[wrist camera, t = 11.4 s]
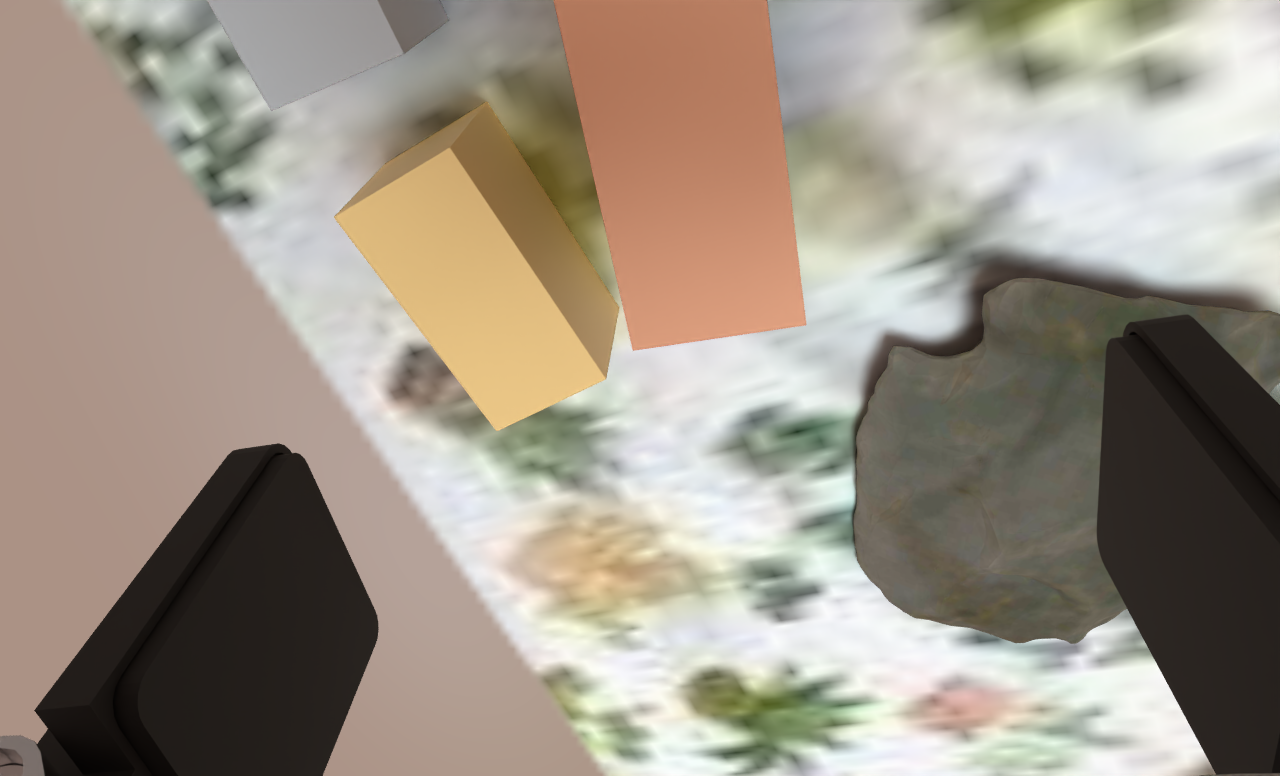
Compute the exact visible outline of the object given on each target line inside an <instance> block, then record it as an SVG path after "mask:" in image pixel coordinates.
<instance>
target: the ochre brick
mask: <svg viewBox="0 0 1280 776" xmlns="http://www.w3.org/2000/svg"><path fill="white" fill-rule="evenodd" d="M334 218H335V219H336V221H337V222H338V223H339V225H340V226H341V227H342V229H343V230H344V231H345V233H346V234H347V235H348V237H349V238H350V239H351V241H352V242H353V243H354V244H355V246H356V247H357V248H358V250H359V251H360V252H361V254H362V255H363V256H364V258H365V259H366V260H367V262H368V263H369V264H370V265H371V267H372V268H373V269H374V271H375V272H376V273H377V275H378V276H379V277H380V279H381V280H382V281H383V283H384V284H385V285H386V286H387V288H388V289H389V290H390V292H391V293H392V294H393V296H394V297H395V298H396V300H397V301H398V302H399V304H400V305H401V306H402V307H403V309H404V310H405V311H406V313H407V314H408V315H409V317H410V318H411V319H412V321H413V322H414V323H415V325H416V326H417V327H418V328H419V330H420V331H421V332H422V334H423V335H424V336H425V338H426V339H427V340H428V342H429V343H430V344H431V346H432V347H433V348H434V350H435V351H436V352H437V353H438V355H439V356H440V357H441V359H442V360H443V361H444V363H445V364H446V365H447V367H448V368H449V369H450V371H451V372H452V373H453V374H454V376H455V377H456V378H457V380H458V381H459V382H460V384H461V385H462V386H463V388H464V389H465V390H466V392H467V393H468V394H469V395H470V397H471V398H472V399H473V401H474V402H475V403H476V405H477V406H478V407H479V409H480V410H481V411H482V413H483V414H484V415H485V416H486V418H487V419H488V420H489V422H490V423H491V424H492V426H493V427H494V428H495V430H496V431H498V430H501V429H503V428H505V427H507V426H509V425H511V424H513V423H515V422H517V421H519V420H521V419H524V418H526V417H528V416H530V415H532V414H534V413H536V412H538V411H540V410H542V409H545V408H547V407H549V406H551V405H553V404H555V403H557V402H559V401H561V400H563V399H565V398H568V397H570V396H572V395H574V394H576V393H578V392H580V391H582V390H584V389H586V388H589V387H591V386H593V385H595V384H597V383H599V382H601V381H603V380H605V379H606V377H607V372H608V366H609V361H610V355H611V350H612V344H613V339H614V334H615V328H616V323H617V317H618V312H619V306H618V305H617V303H616V302H615V300H614V299H613V297H612V296H611V294H610V292H609V291H608V289H607V288H606V286H605V285H604V283H603V282H602V280H601V278H600V277H599V275H598V274H597V272H596V271H595V269H594V268H593V266H592V264H591V263H590V261H589V260H588V258H587V257H586V255H585V253H584V252H583V250H582V249H581V247H580V246H579V244H578V243H577V241H576V239H575V238H574V236H573V235H572V233H571V232H570V230H569V229H568V227H567V225H566V224H565V222H564V221H563V219H562V218H561V216H560V215H559V213H558V211H557V210H556V208H555V207H554V205H553V204H552V202H551V200H550V199H549V197H548V196H547V194H546V193H545V191H544V190H543V188H542V186H541V185H540V183H539V182H538V180H537V179H536V177H535V176H534V174H533V172H532V171H531V169H530V168H529V166H528V165H527V163H526V162H525V160H524V158H523V157H522V155H521V154H520V152H519V151H518V149H517V147H516V146H515V144H514V143H513V141H512V140H511V138H510V137H509V135H508V133H507V132H506V130H505V129H504V127H503V126H502V124H501V123H500V121H499V119H498V118H497V116H496V115H495V113H494V112H493V110H492V109H491V107H490V105H489V104H488V102H485V103H484V104H482V105H480V106H479V107H477V108H476V109H474V110H472V111H471V112H469V113H467V114H466V115H464V116H462V117H461V118H459V119H458V120H456V121H454V122H453V123H451V124H449V125H448V126H446V127H444V128H443V129H441V130H439V131H438V132H436V133H435V134H433V135H431V136H430V137H428V138H426V139H425V140H423V141H421V142H420V143H418V144H417V145H415V146H413V147H412V148H410V149H408V150H407V151H405V152H403V153H402V154H400V155H398V156H397V157H395V158H394V159H392V160H390V161H389V162H387V163H385V164H384V165H383V166H382V168H381V169H380V170H379V171H378V172H377V173H376V174H375V175H374V176H373V177H372V178H371V179H370V180H369V181H368V182H367V183H366V184H365V185H364V186H363V187H362V188H361V189H360V190H359V191H358V192H357V193H356V195H355V196H354V197H353V198H352V199H351V200H350V201H349V202H348V203H347V204H346V205H345V206H344V207H343V208H342V209H341V210H340V211H339V212H338V213H337V214H336V215H335V216H334Z"/></svg>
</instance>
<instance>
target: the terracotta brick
mask: <svg viewBox="0 0 1280 776" xmlns="http://www.w3.org/2000/svg"><path fill="white" fill-rule="evenodd" d="M554 5H555V9H556V14H557V18H558V22H559V27H560V31H561V36H562V40H563V44H564V49H565V53H566V58H567V62H568V67H569V71H570V75H571V80H572V84H573V89H574V93H575V97H576V102H577V106H578V111H579V115H580V119H581V124H582V128H583V133H584V137H585V141H586V146H587V150H588V155H589V159H590V163H591V168H592V172H593V177H594V181H595V186H596V190H597V194H598V199H599V203H600V208H601V212H602V216H603V221H604V225H605V230H606V234H607V238H608V243H609V247H610V252H611V256H612V260H613V265H614V269H615V274H616V278H617V282H618V287H619V291H620V296H621V300H622V305H623V309H624V313H625V318H626V322H627V327H628V331H629V335H630V340H631V344H632V349H633V351H634V350H640V349H647V348H654V347H661V346H668V345H674V344H681V343H688V342H695V341H702V340H708V339H715V338H722V337H729V336H736V335H742V334H749V333H756V332H763V331H770V330H776V329H783V328H790V327H797V326H804V325H806V318H805V310H804V301H803V293H802V285H801V277H800V268H799V260H798V252H797V244H796V235H795V227H794V219H793V211H792V203H791V194H790V186H789V178H788V170H787V161H786V153H785V145H784V137H783V128H782V120H781V112H780V104H779V95H778V87H777V79H776V71H775V62H774V54H773V46H772V38H771V29H770V21H769V13H768V5H767V0H554Z"/></svg>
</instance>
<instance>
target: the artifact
mask: <svg viewBox="0 0 1280 776" xmlns="http://www.w3.org/2000/svg"><path fill="white" fill-rule="evenodd" d="M1183 314H1189V315H1190V316H1191V317H1193V318H1194V319H1195V320H1196V321H1197V322H1198V323H1199V324H1200V325H1201V326H1202V327H1203V328H1204V329H1205V330H1206V331H1207V332H1208V333H1209V334H1210V335H1211V336H1212V337H1213V338H1214V339H1215V340H1216V341H1217V342H1218V343H1219V344H1220V345H1221V346H1222V347H1223V348H1224V349H1225V350H1226V351H1227V352H1228V353H1229V354H1230V355H1231V356H1232V357H1233V358H1234V359H1235V360H1236V361H1237V362H1238V363H1239V364H1240V365H1241V366H1242V367H1243V368H1244V369H1245V370H1246V371H1247V372H1248V373H1249V374H1250V375H1251V376H1252V377H1253V378H1254V379H1255V380H1256V381H1257V382H1258V383H1259V385H1260V386H1261V387H1262V388H1263V389H1264V390H1265V391H1266V392H1267V393H1268V394H1269V393H1270V392H1271V391H1272V390H1273V388H1274V387H1275V386H1276V385H1278V384H1279V383H1280V314H1278V313H1275V312H1271V311H1253V312H1245V311H1241V310H1236V309H1232V308H1223V307H1212V306H1200V305H1189V304H1184V303H1180V302H1176V301H1172V300H1167V299H1163V298H1158V297H1153V296H1145V297H1141V298H1137V299H1136V298H1125V297H1121V296H1117V295H1113V294H1109V293H1105V292H1101V291H1097V290H1094V289H1090V288H1086V287H1082V286H1077V285H1072V284H1066V283H1061V282H1056V281H1051V280H1046V279H1040V278H1017V279H1012V280H1009V281H1007V282H1004V283H1003V284H1001V285H999V286H997V287H995V288H994V289H992V290H990V291H988V292H987V293H986V294H985V295H984V296H983V307H982V319H983V324H984V333H983V339H982V341H981V343H980V344H978V345H977V346H976V347H975V348H974V349H973V350H971V351H967V352H964V353H960V354H957V355H953V356H945V357H943V356H933V355H929V354H927V353H924V352H922V351H919V350H917V349H914V348H912V347H905V346H893V348H892V349H891V351H890V353H889V356H888V366H887V368H886V369H885V371H884V372H883V373H882V375H881V377H880V378H879V380H878V381H877V383H876V386H875V389H874V394H873V395H872V396H871V397H870V400H869V401H868V410H867V413H866V415H865V416H864V418H863V420H862V422H861V425H860V427H859V430H858V433H857V437H856V445H857V451H858V452H857V458H856V466H857V483H856V490H857V506H856V510H855V513H854V517H853V522H854V534H855V547H856V550H857V561H858V563H859V565H860V567H861V568H862V570H863V571H864V573H865V574H866V575H867V577H868V578H869V579H870V581H871V582H873V583H874V584H875V585H876V586H877V587H878V588H880V590H881V591H882V593H883V594H884V596H885V597H886V598H887V599H888V601H889V602H891V603H892V604H893V605H895V606H896V607H898V608H899V609H901V610H902V611H903V612H905V613H907V614H909V615H910V616H912V617H914V618H919V619H926V620H931V621H935V622H939V623H942V624H946V625H950V626H958V627H968V628H973V629H976V630H979V631H982V632H986V633H989V634H992V635H994V636H997V637H999V638H1002V639H1005V640H1008V641H1011V642H1014V643H1025V642H1028V641H1031V640H1035V639H1048V638H1057V639H1061V640H1065V641H1068V642H1069V643H1071V644H1075V643H1078V642H1079V641H1081V640H1082V639H1083V638H1084V637H1085V636H1086V634H1087V633H1088V632H1089V631H1090V630H1092V629H1093V628H1095V627H1098V626H1100V625H1102V624H1105V623H1107V622H1108V621H1110V620H1111V619H1113V618H1115V617H1116V616H1117V615H1118V614H1120V613H1121V612H1122V611H1123V610H1125V609H1127V607H1126V605H1125V603H1124V602H1123V600H1122V598H1121V596H1120V594H1119V592H1118V590H1117V588H1116V587H1115V585H1114V583H1113V581H1112V579H1111V577H1110V575H1109V574H1108V572H1107V570H1106V568H1105V566H1104V564H1103V562H1102V559H1101V556H1100V553H1099V548H1098V543H1097V512H1098V493H1099V474H1100V455H1101V436H1102V417H1103V398H1104V379H1105V360H1106V348H1107V344H1108V341H1109V340H1110V339H1111V338H1116V337H1123V332H1124V330H1125V327H1126V325H1127V324H1128V323H1129V322H1134V321H1141V320H1148V319H1155V318H1162V317H1169V316H1176V315H1183Z"/></svg>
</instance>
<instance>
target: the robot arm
mask: <svg viewBox="0 0 1280 776" xmlns="http://www.w3.org/2000/svg"><path fill="white" fill-rule="evenodd" d="M1097 543H1098V548H1099V553H1100V556H1101V559H1102V562H1103V564H1104V566H1105V568H1106V570H1107V572H1108V574H1109V575H1110V577H1111V579H1112V581H1113V583H1114V585H1115V587H1116V588H1117V590H1118V592H1119V594H1120V596H1121V598H1122V600H1123V602H1124V603H1125V605H1126V607H1127V609H1128V611H1129V613H1130V615H1131V616H1132V618H1133V620H1134V622H1135V624H1136V626H1137V628H1138V630H1139V631H1140V633H1141V635H1142V637H1143V639H1144V641H1145V643H1146V644H1147V646H1148V648H1149V650H1150V652H1151V654H1152V656H1153V657H1154V659H1155V661H1156V663H1157V665H1158V667H1159V669H1160V671H1161V672H1162V674H1163V676H1164V678H1165V680H1166V682H1167V684H1168V685H1169V687H1170V689H1171V691H1172V693H1173V695H1174V697H1175V698H1176V700H1177V702H1178V704H1179V706H1180V708H1181V710H1182V712H1183V713H1184V715H1185V717H1186V719H1187V721H1188V723H1189V725H1190V726H1191V728H1192V730H1193V732H1194V734H1195V736H1196V738H1197V739H1198V741H1199V743H1200V745H1201V747H1202V749H1203V751H1204V753H1205V754H1206V756H1207V758H1208V760H1209V762H1210V764H1211V766H1212V767H1213V769H1214V771H1215V773H1216V775H1201V776H1280V405H1279V404H1278V403H1277V402H1276V401H1275V400H1274V399H1273V398H1272V397H1271V396H1270V395H1269V394H1268V393H1267V392H1266V391H1265V390H1264V389H1263V388H1262V387H1261V386H1260V385H1259V383H1258V382H1257V381H1256V380H1255V379H1254V378H1253V377H1252V376H1251V375H1250V374H1249V373H1248V372H1247V371H1246V370H1245V369H1244V368H1243V367H1242V366H1241V365H1240V364H1239V363H1238V362H1237V361H1236V360H1235V359H1234V358H1233V357H1232V356H1231V355H1230V354H1229V353H1228V352H1227V351H1226V350H1225V349H1224V348H1223V347H1222V346H1221V345H1220V344H1219V343H1218V342H1217V341H1216V340H1215V339H1214V338H1213V337H1212V336H1211V335H1210V334H1209V333H1208V332H1207V331H1206V330H1205V329H1204V328H1203V327H1202V326H1201V325H1200V324H1199V323H1198V322H1197V321H1196V320H1195V319H1194V318H1193V317H1191V316H1190V315H1189V314H1183V315H1176V316H1169V317H1162V318H1155V319H1148V320H1141V321H1134V322H1129V323H1128V324H1127V325H1126V327H1125V330H1124V332H1123V337H1116V338H1111V339H1110V340H1109V341H1108V344H1107V348H1106V360H1105V379H1104V398H1103V417H1102V436H1101V455H1100V474H1099V493H1098V512H1097ZM377 637H378V619H377V615H376V612H375V609H374V607H373V605H372V603H371V600H370V598H369V596H368V594H367V592H366V590H365V587H364V585H363V583H362V581H361V579H360V576H359V574H358V572H357V570H356V568H355V566H354V564H353V562H352V559H351V557H350V555H349V553H348V550H347V548H346V546H345V544H344V542H343V540H342V538H341V535H340V533H339V531H338V529H337V527H336V525H335V522H334V520H333V518H332V516H331V514H330V512H329V509H328V507H327V505H326V503H325V501H324V499H323V496H322V494H321V492H320V490H319V488H318V486H317V483H316V481H315V479H314V477H313V475H312V473H311V471H310V468H309V466H308V464H307V462H306V461H305V459H304V458H303V457H302V456H301V455H300V454H298V453H291V451H290V450H289V449H288V448H287V447H286V446H285V445H282V444H272V445H265V446H258V447H251V448H244V449H238V450H234V451H232V452H231V453H230V454H229V455H228V456H227V457H226V459H225V460H224V461H223V462H222V464H221V465H220V466H219V468H218V469H217V470H216V472H215V473H214V475H213V476H212V477H211V478H210V480H209V481H208V482H207V484H206V485H205V486H204V488H203V489H202V490H201V491H200V493H199V494H198V496H197V497H196V498H195V499H194V501H193V502H192V504H191V505H190V506H189V507H188V509H187V510H186V511H185V513H184V514H183V515H182V516H181V518H180V519H179V521H178V522H177V523H176V524H175V526H174V527H173V528H172V530H171V531H170V532H169V534H168V535H167V536H166V538H165V539H164V540H163V542H162V543H161V544H160V545H159V547H158V548H157V550H156V551H155V552H154V553H153V555H152V556H151V557H150V559H149V560H148V561H147V563H146V564H145V565H144V567H143V568H142V569H141V571H140V572H139V573H138V574H137V576H136V577H135V578H134V580H133V581H132V582H131V584H130V585H129V586H128V588H127V589H126V590H125V592H124V593H123V595H122V596H121V597H120V598H119V600H118V601H117V602H116V603H115V605H114V606H113V607H112V609H111V610H110V611H109V613H108V614H107V615H106V617H105V618H104V619H103V621H102V622H101V623H100V625H99V626H98V627H97V629H96V630H95V631H94V632H93V634H92V635H91V636H90V638H89V639H88V640H87V642H86V643H85V644H84V646H83V647H82V648H81V650H80V651H79V652H78V654H77V655H76V656H75V658H74V659H73V660H72V661H71V663H70V664H69V665H68V667H67V668H66V669H65V671H64V672H63V673H62V675H61V676H60V677H59V679H58V680H57V681H56V683H55V684H54V685H53V687H52V688H51V689H50V691H49V692H48V693H47V694H46V696H45V697H44V698H43V700H42V701H41V702H40V704H39V705H38V706H37V708H36V709H35V710H34V711H35V712H36V713H37V715H38V716H39V717H40V718H41V720H42V721H43V722H44V724H45V725H46V726H47V728H48V730H47V731H46V733H45V734H44V736H43V737H42V738H41V740H40V741H39V742H38V744H36V743H35V741H33V740H30V739H28V738H26V737H24V736H0V776H323V773H324V770H325V768H326V766H327V763H328V761H329V758H330V756H331V753H332V751H333V748H334V746H335V743H336V741H337V738H338V736H339V734H340V731H341V728H342V726H343V724H344V721H345V719H346V716H347V714H348V711H349V709H350V706H351V704H352V701H353V698H354V696H355V694H356V691H357V689H358V686H359V684H360V681H361V679H362V677H363V674H364V672H365V669H366V666H367V664H368V662H369V659H370V657H371V654H372V651H373V649H374V647H375V644H376V641H377Z"/></svg>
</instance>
